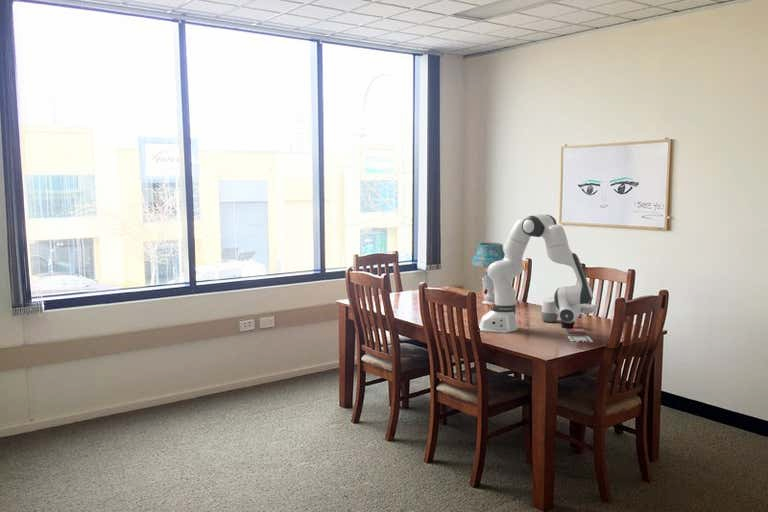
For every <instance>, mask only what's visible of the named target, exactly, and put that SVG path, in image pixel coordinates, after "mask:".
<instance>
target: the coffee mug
mask: <svg viewBox="0 0 768 512" xmlns="http://www.w3.org/2000/svg"><path fill="white" fill-rule="evenodd" d="M560 322H561V324H560V325H561V329H566V330H567V329H574V328H575V327H574V326H575V322H576V320H574V321H573V322H570V323H567V322H564V321H562V320H561V319H560Z"/></svg>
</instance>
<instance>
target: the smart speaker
mask: <svg viewBox="0 0 768 512" xmlns="http://www.w3.org/2000/svg"><path fill="white" fill-rule="evenodd" d="M540 316H541V320H542V321H543V322H545V323H555V322H557V320H558V317H559V315H557V314H556V304H555V300H554V296H549V297H546V298H545V297H544V299H543V300H542V305H541V315H540Z"/></svg>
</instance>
